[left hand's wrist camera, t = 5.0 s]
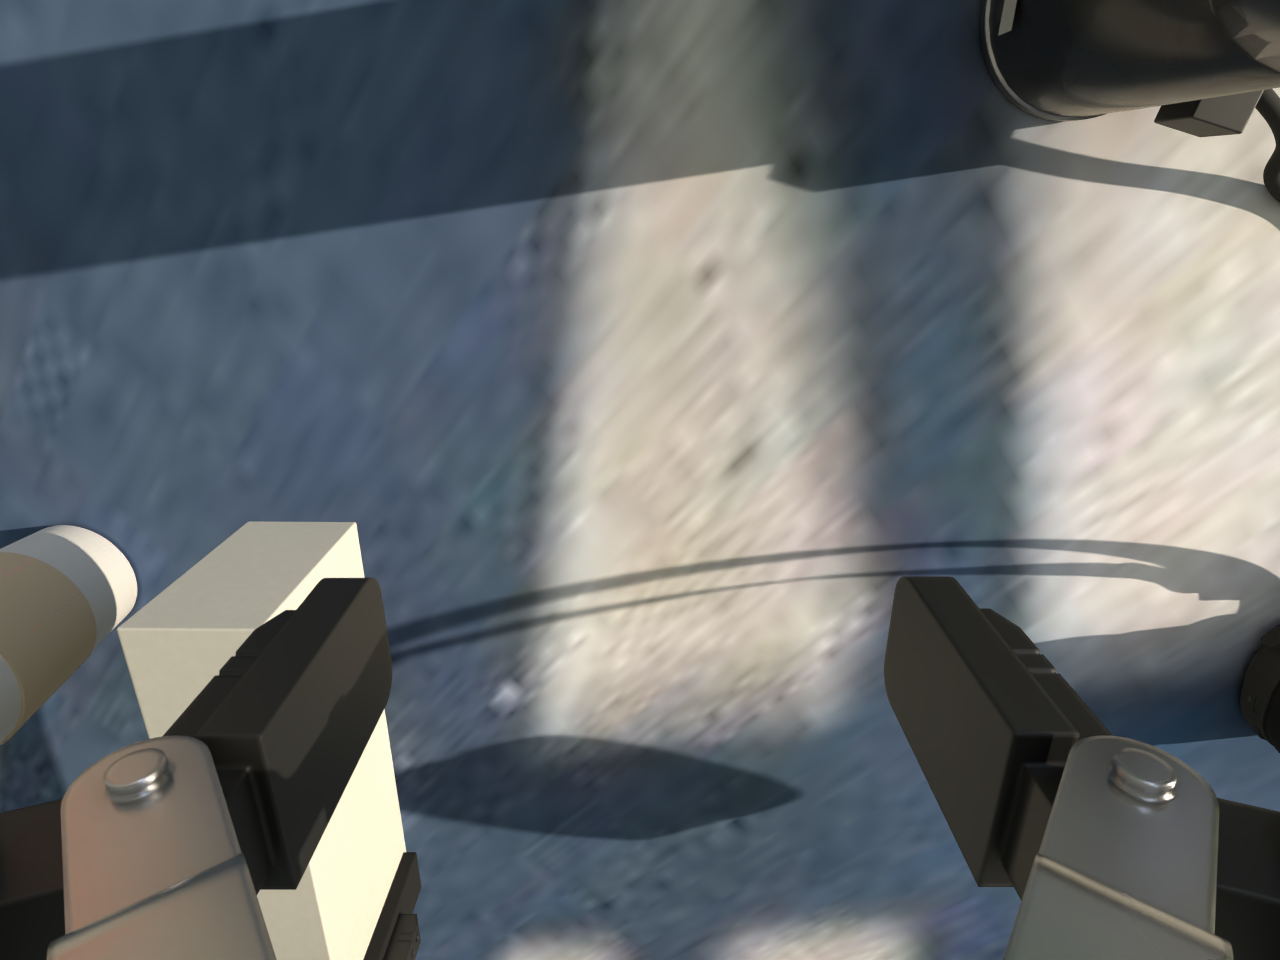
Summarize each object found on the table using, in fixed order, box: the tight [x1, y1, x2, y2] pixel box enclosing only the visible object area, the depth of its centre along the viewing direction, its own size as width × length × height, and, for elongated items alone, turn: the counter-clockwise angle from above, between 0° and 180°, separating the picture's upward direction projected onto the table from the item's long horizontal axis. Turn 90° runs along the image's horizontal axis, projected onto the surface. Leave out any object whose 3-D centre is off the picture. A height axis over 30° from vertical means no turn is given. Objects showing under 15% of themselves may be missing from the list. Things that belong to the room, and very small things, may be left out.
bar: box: [117, 522, 406, 960], centre depth 36 cm, size 25×5×9 cm, turn 0°
